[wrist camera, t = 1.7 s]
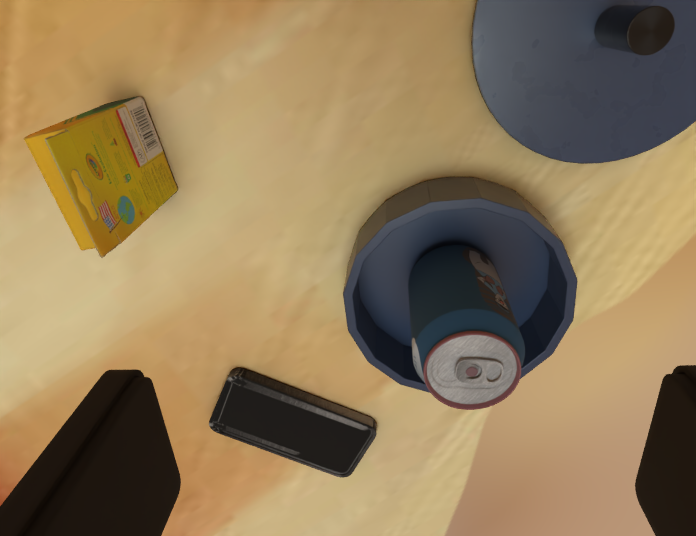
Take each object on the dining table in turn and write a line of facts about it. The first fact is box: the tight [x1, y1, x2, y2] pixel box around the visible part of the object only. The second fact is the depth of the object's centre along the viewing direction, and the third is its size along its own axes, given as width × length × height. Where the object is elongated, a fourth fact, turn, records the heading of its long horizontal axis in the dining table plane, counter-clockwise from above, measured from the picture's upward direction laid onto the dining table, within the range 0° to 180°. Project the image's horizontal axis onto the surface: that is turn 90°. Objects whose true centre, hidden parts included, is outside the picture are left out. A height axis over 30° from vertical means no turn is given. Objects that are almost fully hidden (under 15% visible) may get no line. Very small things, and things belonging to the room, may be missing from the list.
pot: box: [343, 177, 577, 393], centre depth 39 cm, size 16×16×5 cm
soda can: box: [408, 245, 525, 410], centre depth 36 cm, size 7×7×12 cm
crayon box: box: [24, 96, 178, 258], centre depth 33 cm, size 7×3×12 cm, turn 12°
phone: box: [209, 368, 376, 477], centre depth 49 cm, size 8×1×15 cm
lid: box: [471, 0, 696, 163], centre depth 30 cm, size 17×17×6 cm
